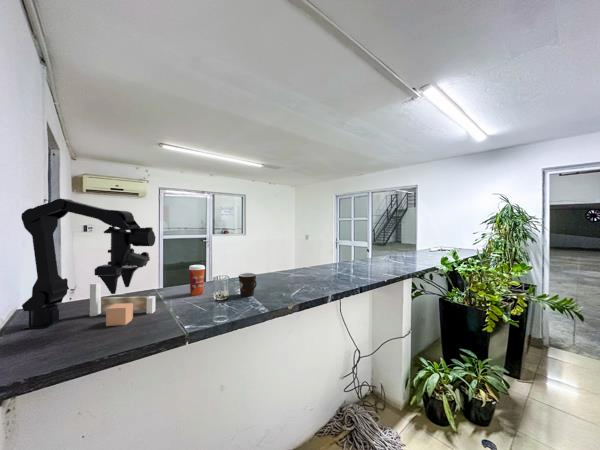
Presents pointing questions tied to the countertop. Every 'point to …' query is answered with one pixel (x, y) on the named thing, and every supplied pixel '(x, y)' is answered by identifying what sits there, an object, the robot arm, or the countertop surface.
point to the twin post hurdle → (96, 300)
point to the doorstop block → (119, 314)
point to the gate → (138, 302)
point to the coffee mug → (247, 284)
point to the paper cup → (196, 279)
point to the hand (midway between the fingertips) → (120, 290)
